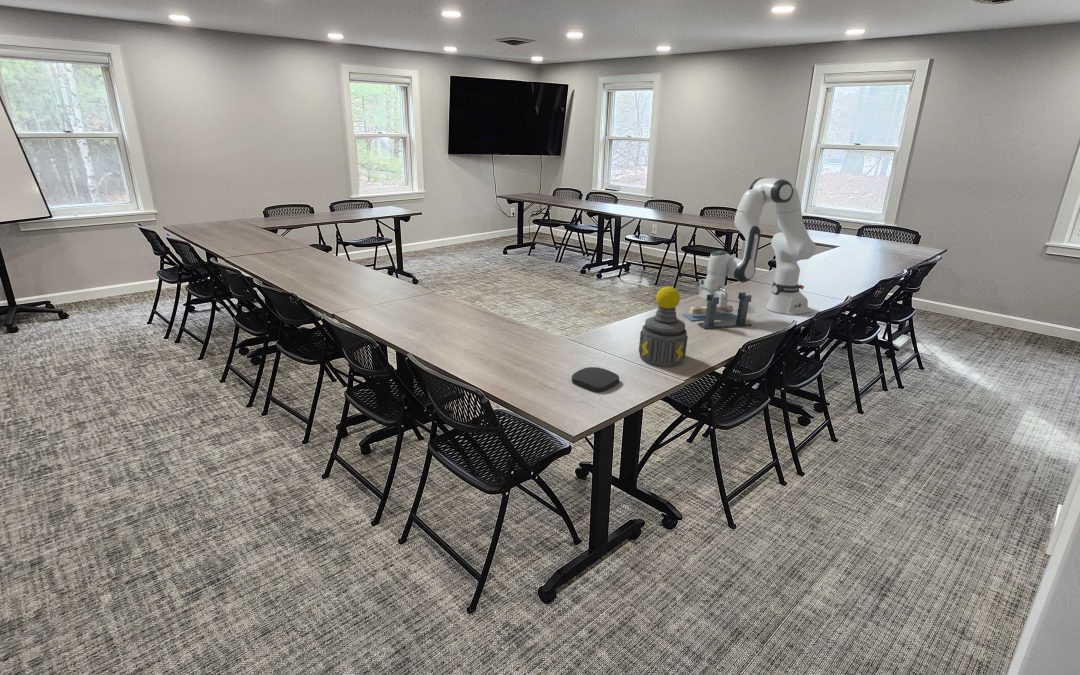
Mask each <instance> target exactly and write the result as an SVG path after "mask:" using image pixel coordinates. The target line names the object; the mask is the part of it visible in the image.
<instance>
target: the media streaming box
mask: <svg viewBox="0 0 1080 675" xmlns="http://www.w3.org/2000/svg"><path fill="white" fill-rule="evenodd" d="M571 383H572V384H573V385H575V386H578V387H581V388H583V389H585V390H588V391H590V392H594V393H604V392H607V391H608V390H610V389H612V388H614V387H616V386H618V385H619V384H620V376H619V375H618V374H617V373H615V372H613V371H611V370H609V369H606V368H602V367H597V366H590V367H585V368H581V369H579V370H577V371H575V372H574V373H573V374H572V376H571Z"/></svg>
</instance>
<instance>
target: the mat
mask: <svg viewBox="0 0 1080 675" xmlns="http://www.w3.org/2000/svg"><path fill="white" fill-rule="evenodd" d="M681 315H682V316H683V317H684V318H686V319H687V320H689V321H690V322H699V321H700V322H701V321H705V317H706V314H700V315H691V314H690V313H682V314H681ZM726 319H727V320H728V319H737V314H734V313H733V312H728V313H715V319H714V321H715V320H726Z"/></svg>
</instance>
